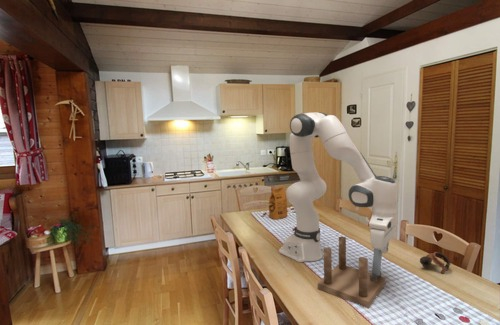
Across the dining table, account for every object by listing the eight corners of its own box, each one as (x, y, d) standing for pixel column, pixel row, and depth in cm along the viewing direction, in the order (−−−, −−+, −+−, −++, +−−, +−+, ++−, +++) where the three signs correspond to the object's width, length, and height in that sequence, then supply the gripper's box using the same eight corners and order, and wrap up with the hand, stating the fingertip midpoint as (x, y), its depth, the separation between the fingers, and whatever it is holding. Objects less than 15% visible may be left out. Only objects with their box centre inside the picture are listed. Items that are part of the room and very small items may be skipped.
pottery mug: (432, 262, 130) (443, 250, 126) (445, 280, 122) (457, 268, 118) (410, 259, 128) (421, 247, 123) (423, 277, 120) (434, 265, 116)
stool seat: (317, 288, 113) (316, 250, 110) (338, 268, 127) (338, 234, 125) (368, 308, 99) (368, 264, 97) (385, 283, 114) (386, 245, 112)
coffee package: (267, 217, 204) (266, 187, 202) (280, 213, 211) (279, 185, 208) (275, 220, 196) (274, 190, 193) (289, 217, 203) (288, 187, 200)
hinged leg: (370, 274, 113) (373, 246, 111) (373, 271, 115) (375, 243, 113) (378, 276, 111) (381, 249, 109) (380, 273, 113) (383, 246, 111)
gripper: (384, 210, 118) (384, 241, 120) (367, 224, 103) (367, 259, 104) (400, 212, 114) (400, 245, 115) (385, 227, 99) (385, 264, 100)
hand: (384, 252), depth 110 cm, fingers closed, pressing on hinged leg
